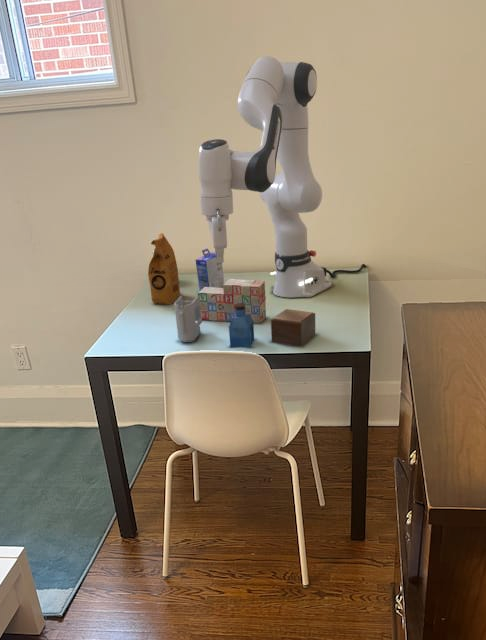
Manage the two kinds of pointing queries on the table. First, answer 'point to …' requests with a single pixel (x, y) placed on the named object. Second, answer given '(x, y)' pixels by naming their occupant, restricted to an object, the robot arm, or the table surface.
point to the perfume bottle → (241, 328)
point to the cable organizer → (188, 319)
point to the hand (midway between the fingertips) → (219, 258)
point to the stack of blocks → (233, 300)
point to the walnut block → (293, 327)
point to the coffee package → (163, 273)
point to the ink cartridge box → (209, 271)
